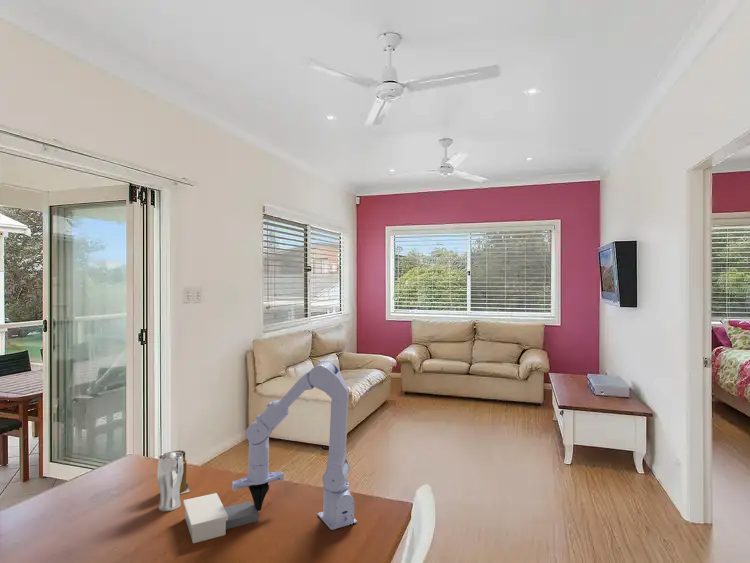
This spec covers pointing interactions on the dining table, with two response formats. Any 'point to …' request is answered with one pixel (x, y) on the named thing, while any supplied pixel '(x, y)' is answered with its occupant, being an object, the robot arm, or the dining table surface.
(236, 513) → the slate tile
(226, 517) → the white rectangular block
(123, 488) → the dining table surface
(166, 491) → the beer glass
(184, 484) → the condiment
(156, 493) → the dining table surface
